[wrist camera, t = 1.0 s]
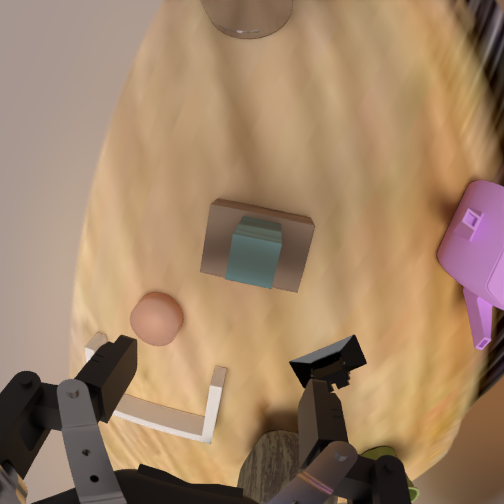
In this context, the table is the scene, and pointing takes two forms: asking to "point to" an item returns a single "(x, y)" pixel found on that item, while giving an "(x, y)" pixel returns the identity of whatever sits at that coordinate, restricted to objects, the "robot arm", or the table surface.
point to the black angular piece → (330, 363)
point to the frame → (165, 416)
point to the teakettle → (477, 254)
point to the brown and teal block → (256, 245)
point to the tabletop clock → (272, 466)
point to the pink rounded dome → (156, 319)
